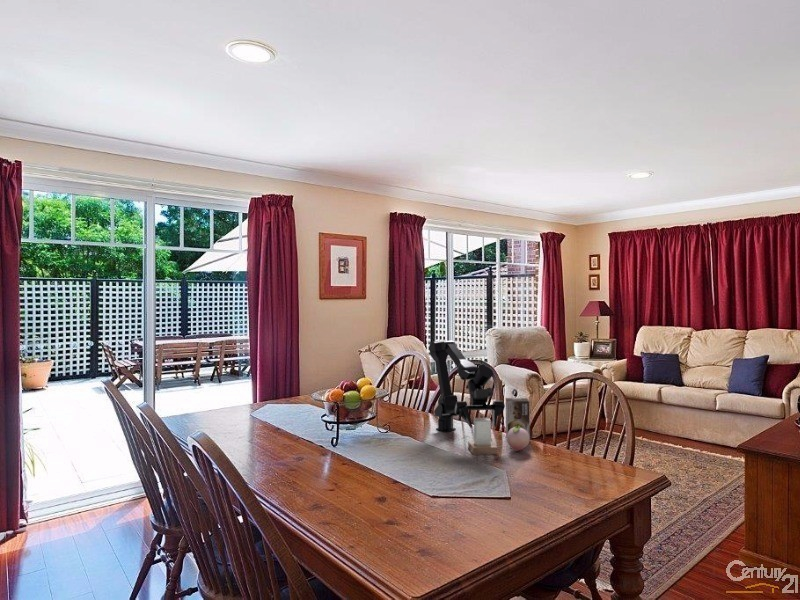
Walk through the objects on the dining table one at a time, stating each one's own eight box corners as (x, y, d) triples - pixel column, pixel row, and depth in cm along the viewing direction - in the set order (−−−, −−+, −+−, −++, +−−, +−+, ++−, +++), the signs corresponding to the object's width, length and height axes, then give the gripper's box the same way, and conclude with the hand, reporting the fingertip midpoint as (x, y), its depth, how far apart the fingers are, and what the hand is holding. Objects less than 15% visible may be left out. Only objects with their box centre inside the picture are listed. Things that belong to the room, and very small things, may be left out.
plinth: (468, 447, 197) (468, 441, 197) (491, 447, 198) (491, 440, 198) (473, 454, 188) (473, 447, 188) (497, 454, 189) (497, 447, 189)
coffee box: (527, 436, 214) (527, 397, 214) (530, 440, 207) (529, 400, 207) (505, 435, 215) (505, 397, 215) (507, 440, 208) (507, 400, 208)
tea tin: (473, 442, 195) (473, 418, 195) (488, 442, 195) (488, 417, 195) (476, 445, 191) (476, 420, 191) (491, 445, 191) (491, 420, 191)
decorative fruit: (530, 455, 187) (530, 428, 187) (507, 454, 189) (507, 427, 189) (528, 448, 196) (528, 422, 196) (507, 447, 198) (507, 421, 198)
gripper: (456, 380, 196) (462, 415, 185) (503, 380, 198) (512, 414, 187) (452, 397, 204) (457, 431, 193) (497, 396, 206) (505, 430, 195)
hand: (483, 427), depth 192 cm, fingers open, 9 cm apart
